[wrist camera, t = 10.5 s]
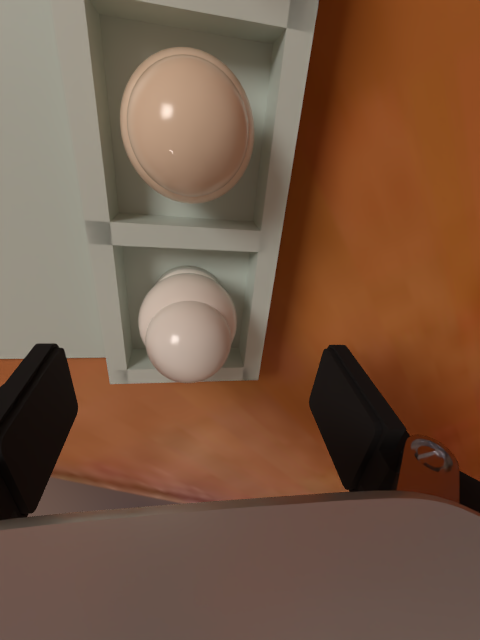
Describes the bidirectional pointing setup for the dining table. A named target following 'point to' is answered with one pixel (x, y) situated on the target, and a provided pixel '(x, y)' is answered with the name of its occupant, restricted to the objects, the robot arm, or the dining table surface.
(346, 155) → the dining table surface
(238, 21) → the egg carton
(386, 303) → the dining table surface
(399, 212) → the dining table surface
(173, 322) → the white egg shape
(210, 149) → the brown egg middle
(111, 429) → the dining table surface
